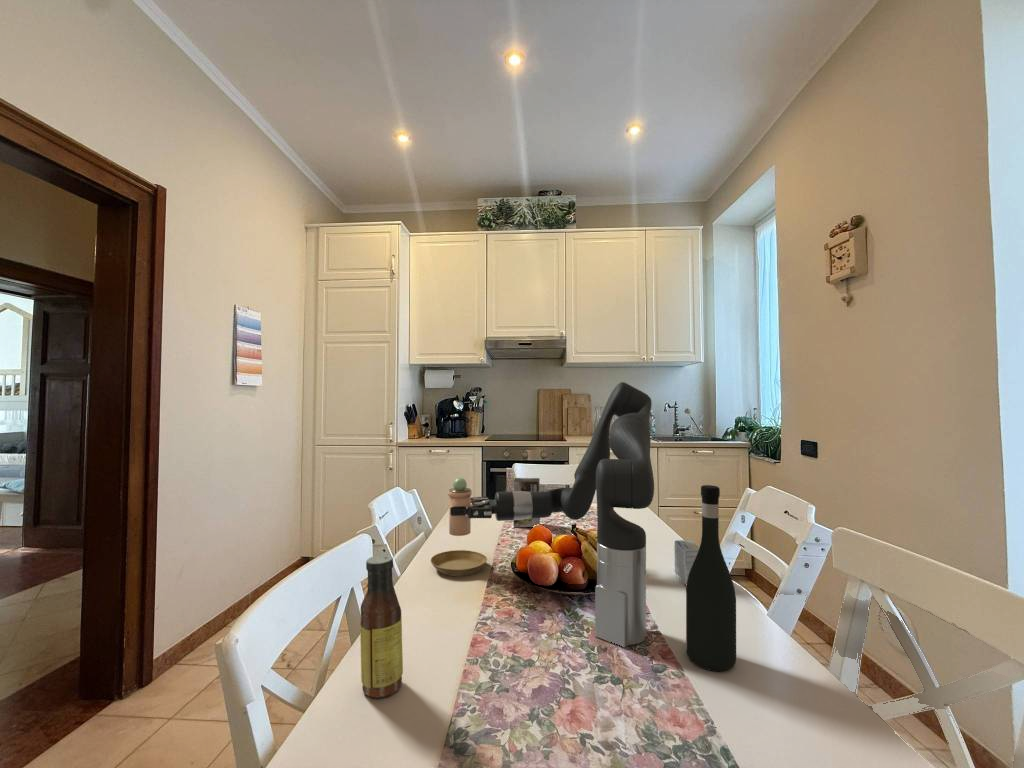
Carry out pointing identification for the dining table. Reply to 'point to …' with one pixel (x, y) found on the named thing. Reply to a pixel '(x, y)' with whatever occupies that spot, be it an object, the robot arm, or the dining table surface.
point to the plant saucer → (458, 562)
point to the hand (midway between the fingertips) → (450, 508)
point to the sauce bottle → (381, 631)
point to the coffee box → (526, 486)
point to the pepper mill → (459, 498)
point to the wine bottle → (710, 596)
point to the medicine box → (684, 558)
